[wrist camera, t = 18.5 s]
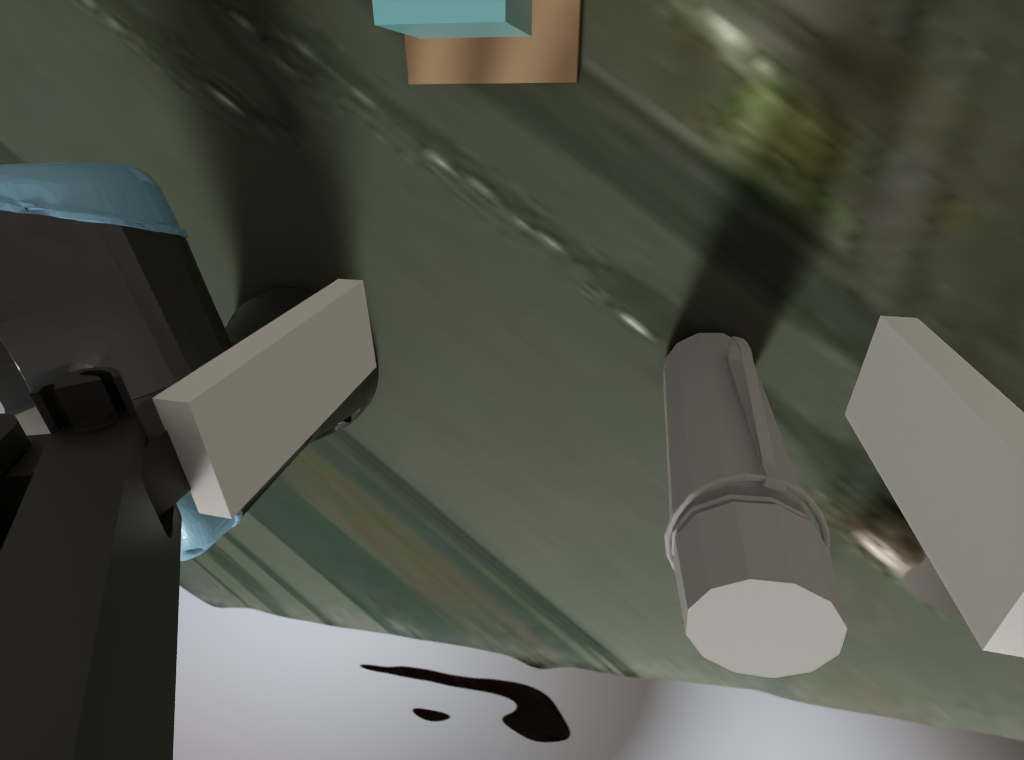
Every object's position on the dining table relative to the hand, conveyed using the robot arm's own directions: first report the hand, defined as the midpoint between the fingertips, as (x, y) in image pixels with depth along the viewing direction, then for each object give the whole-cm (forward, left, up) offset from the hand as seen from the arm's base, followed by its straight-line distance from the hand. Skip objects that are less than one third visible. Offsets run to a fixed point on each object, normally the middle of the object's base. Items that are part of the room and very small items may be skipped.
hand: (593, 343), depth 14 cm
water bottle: (+8, -14, -29) cm, 33 cm away
